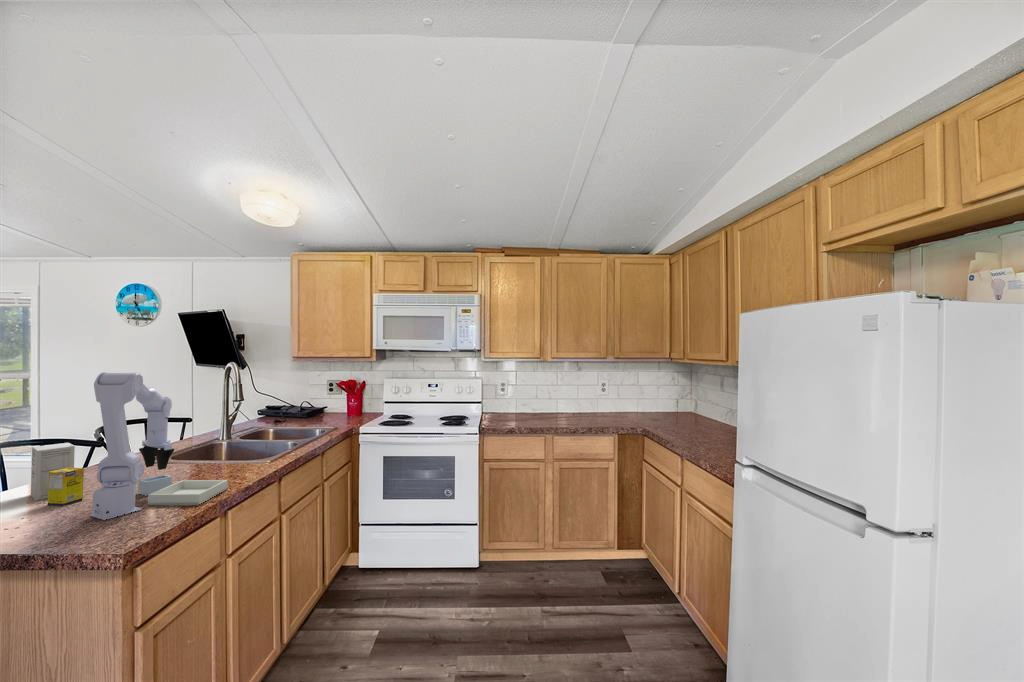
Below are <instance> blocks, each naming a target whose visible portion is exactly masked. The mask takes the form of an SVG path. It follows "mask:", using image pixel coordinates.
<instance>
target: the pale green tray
mask: <svg viewBox="0 0 1024 682" xmlns="http://www.w3.org/2000/svg"><path fill="white" fill-rule="evenodd" d="M228 485H229V482H228V479H191V480H190V479H184V480H183V479H182V480H179V481H178V482H177V481H176V482H175V483H172V485H170V486H168V487H165V488H163V489H161V490H158V491H156V492H154V493H151V494H149V495H148V496H147V497H148V498H147V506H148V505H155V506H200V505H202V504H204V503H205V501H206V502H208V501H209V500H211V499H213V498H215V497H217V496H218V495H220V494H222V493H224V492H225V490H226V491H227V489H228ZM223 491H224V492H223ZM221 492H222V493H221ZM219 493H220V494H219ZM217 494H218V495H217ZM216 495H217V496H216ZM214 496H215V497H214ZM212 497H213V498H212ZM210 498H211V499H210ZM203 502H204V503H203ZM201 503H202V504H201ZM199 504H200V505H199Z"/></svg>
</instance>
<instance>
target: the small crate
mask: <svg viewBox="0 0 1024 682" xmlns="http://www.w3.org/2000/svg"><path fill="white" fill-rule="evenodd" d="M172 484H173V475H168V474H161V475H156V476H152V477H147V478H141V479H140V480H139V481H137V495H139V494H142V495H141V496H143V495H145V496H144V497H148V496H147V495H149V494H151V493H154V492H156V491H158V490H161V489H163V488H165V487H168V486H170V485H172Z"/></svg>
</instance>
